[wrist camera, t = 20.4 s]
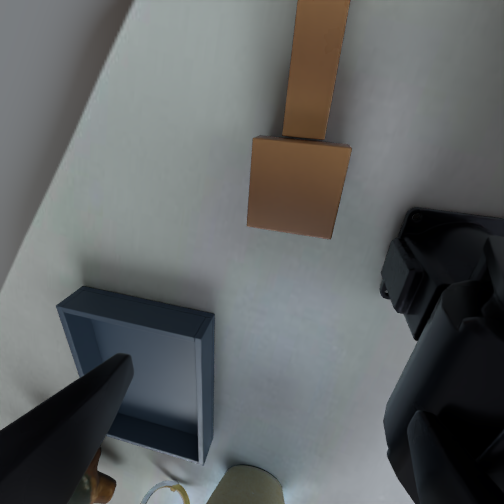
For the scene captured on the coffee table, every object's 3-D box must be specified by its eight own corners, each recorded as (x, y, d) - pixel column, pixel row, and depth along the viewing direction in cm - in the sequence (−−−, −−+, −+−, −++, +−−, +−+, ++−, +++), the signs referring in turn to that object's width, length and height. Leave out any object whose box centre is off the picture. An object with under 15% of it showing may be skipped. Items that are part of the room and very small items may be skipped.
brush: (281, -57, 13) (269, -108, 10) (391, -59, 12) (413, -114, 9) (258, 208, 19) (246, 226, 16) (329, 219, 18) (331, 240, 15)
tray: (214, 313, 24) (201, 339, 21) (213, 437, 33) (203, 466, 30) (82, 285, 26) (55, 305, 23) (115, 408, 35) (98, 433, 32)
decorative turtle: (45, 406, 39) (-10, 471, 32) (139, 453, 42) (107, 523, 34) (31, 434, 43) (-21, 496, 36) (116, 475, 46) (84, 541, 39)
